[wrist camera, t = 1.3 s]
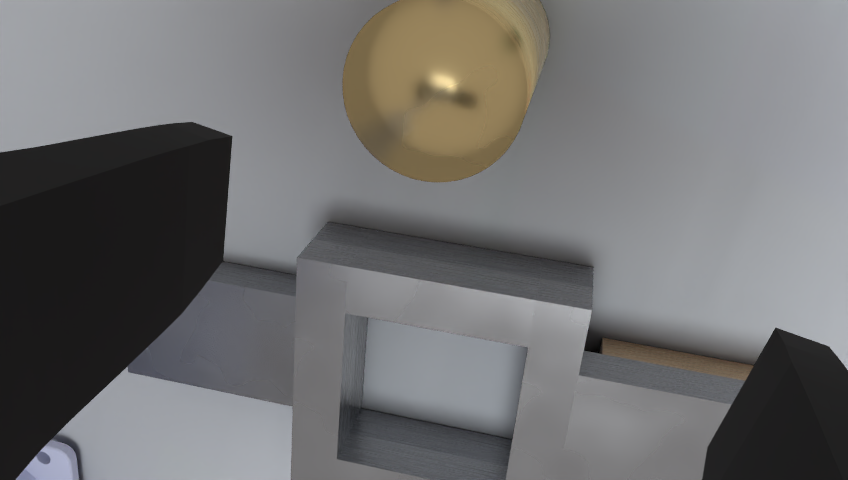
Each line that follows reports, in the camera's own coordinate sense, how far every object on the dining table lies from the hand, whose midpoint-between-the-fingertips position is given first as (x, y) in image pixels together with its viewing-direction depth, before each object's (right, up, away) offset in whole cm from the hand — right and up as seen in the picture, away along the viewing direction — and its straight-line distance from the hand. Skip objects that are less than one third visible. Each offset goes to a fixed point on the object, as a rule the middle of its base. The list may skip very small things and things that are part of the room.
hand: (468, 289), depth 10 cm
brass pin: (+1, +5, +9) cm, 10 cm away
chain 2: (+3, -3, +12) cm, 13 cm away
